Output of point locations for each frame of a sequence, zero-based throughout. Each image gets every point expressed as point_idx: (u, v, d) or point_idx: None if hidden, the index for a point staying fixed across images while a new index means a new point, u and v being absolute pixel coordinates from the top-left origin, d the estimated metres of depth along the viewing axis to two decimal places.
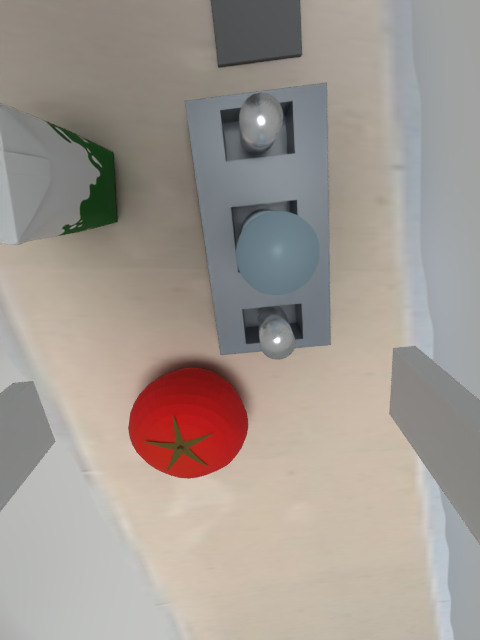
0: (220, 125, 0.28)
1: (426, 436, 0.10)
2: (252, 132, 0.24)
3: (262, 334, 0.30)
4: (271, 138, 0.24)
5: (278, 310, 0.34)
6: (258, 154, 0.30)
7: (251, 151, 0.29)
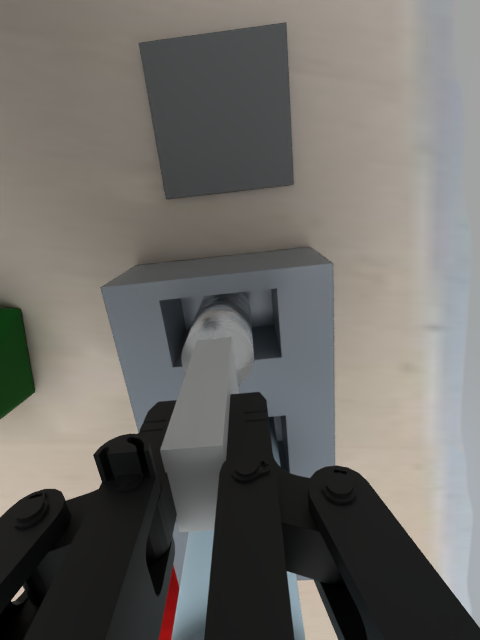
0: (161, 320, 0.18)
1: None
2: None
3: None
4: None
5: None
6: None
7: None
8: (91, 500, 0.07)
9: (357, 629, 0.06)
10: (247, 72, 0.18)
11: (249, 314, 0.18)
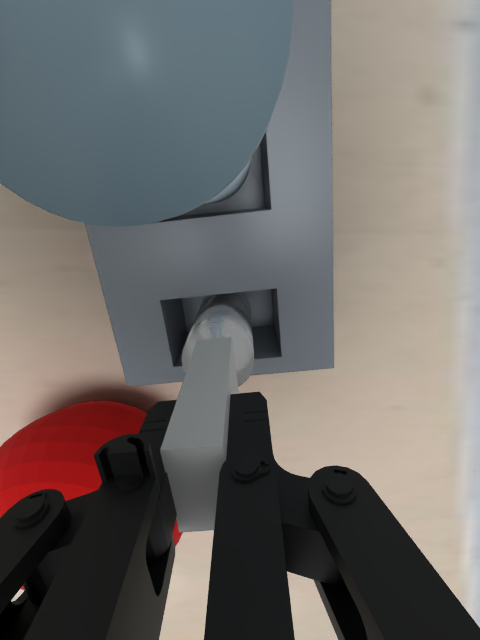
0: None
1: None
2: None
3: (186, 341, 0.14)
4: None
5: (232, 295, 0.19)
6: None
7: None
8: (91, 500, 0.07)
9: (357, 629, 0.06)
10: None
11: None
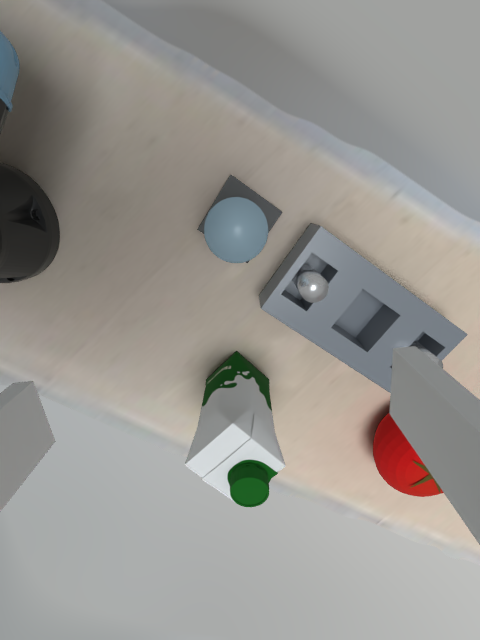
0: (287, 299, 0.41)
1: (426, 436, 0.10)
2: (316, 298, 0.37)
3: None
4: (327, 290, 0.37)
5: None
6: None
7: None
8: None
9: None
10: None
11: (312, 268, 0.40)
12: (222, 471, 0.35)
